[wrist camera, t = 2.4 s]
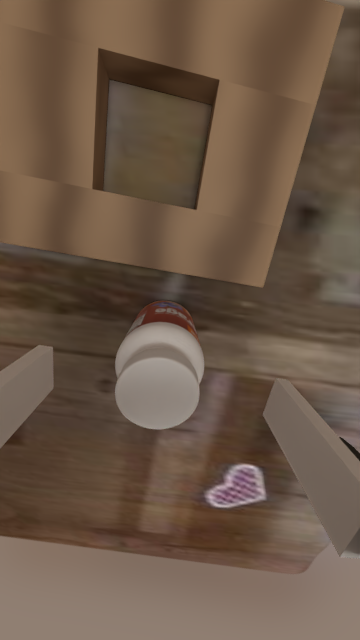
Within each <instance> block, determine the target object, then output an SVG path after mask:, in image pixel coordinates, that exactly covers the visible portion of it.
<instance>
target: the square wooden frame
mask: <svg viewBox="0 0 360 640" xmlns="http://www.w3.org/2000/svg"><path fill="white" fill-rule="evenodd" d="M343 10H344V6H340V5H337V4H334V3H331V2H328V1H325V0H0V242H2V243H7V244H13V245H19V246H25V247H31V248H36V249H42V250H48V251H54V252H60V253H65V254H71V255H77V256H83V257H89V258H94V259H100V260H106V261H112V262H117V263H123V264H129V265H135V266H141V267H146V268H152V269H158V270H164V271H170V272H175V273H181V274H187V275H193V276H199V277H204V278H210V279H216V280H222V281H228V282H233V283H239V284H245V285H251V286H257V287H262V288H263V286H264V282H265V279H266V276H267V272H268V269H269V265H270V262H271V258H272V255H273V251H274V248H275V245H276V241H277V238H278V234H279V231H280V227H281V224H282V220H283V217H284V214H285V210H286V207H287V203H288V200H289V196H290V193H291V190H292V186H293V183H294V179H295V176H296V172H297V169H298V165H299V162H300V159H301V155H302V152H303V148H304V145H305V141H306V138H307V134H308V131H309V128H310V124H311V121H312V117H313V114H314V110H315V107H316V103H317V100H318V97H319V93H320V90H321V86H322V83H323V79H324V76H325V72H326V69H327V66H328V62H329V59H330V55H331V52H332V48H333V45H334V41H335V38H336V35H337V31H338V28H339V24H340V21H341V17H342V14H343ZM109 79H111V80H115V81H119V82H123V83H127V84H131V85H135V86H139V87H143V88H147V89H151V90H155V91H159V92H163V93H167V94H171V95H175V96H179V97H183V98H187V99H191V100H195V101H199V102H203V103H207V104H211V105H212V111H211V117H210V122H209V128H208V134H207V140H206V145H205V151H204V157H203V163H202V168H201V174H200V180H199V186H198V192H197V197H196V203H195V209H189V208H184V207H179V206H174V205H169V204H164V203H159V202H154V201H149V200H144V199H139V198H134V197H129V196H124V195H119V194H114V193H109V192H105V191H103V181H104V163H105V145H106V127H107V109H108V91H109Z"/></svg>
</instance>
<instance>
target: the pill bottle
mask: <svg viewBox="0 0 360 640" xmlns="http://www.w3.org/2000/svg"><path fill="white" fill-rule="evenodd" d="M115 370H116V375H117V379H118V380H117V383H116V387H115V399H116V403H117V405H118V408H119V409H120V411H121V412H122V414H123V415H124V416H125V417H126V418H127V419H128V420H130V421H131V422H133V423H134V424H136V425H139V426H141V427H145V428H148V429H167V428H171V427H174V426H176V425H179V424H181V423H182V422H184V421H185V420H186V419H188V418H189V417H190V416H191V415H192V413H193V412H194V410H195V409H196V407H197V404H198V402H199V395H200V390H199V384H200V382H201V379H202V377H203V373H204V357H203V352H202V349H201V345H200V343H199V339H198V336H197V333H196V329H195V326H194V322H193V319H192V317H191V315H190V314H189V312H188V311H187V310H186V309H185V308H184V307H183V306H181V305H179V304H178V303H175V302H172V301H166V300H161V301H156V302H153V303H150V304H148V305H147V306H145V307H144V308H143V309H142V310H141V311H140V312H139V314H138V315H137V317H136V319H135V321H134V322H133V324H132V326H131V328H130V329H129V331H128V333H127V335H126V336H125V338H124V340H123V341H122V343H121V345H120V347H119V349H118V352H117V355H116V360H115Z"/></svg>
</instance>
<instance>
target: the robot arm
mask: <svg viewBox="0 0 360 640" xmlns="http://www.w3.org/2000/svg"><path fill="white" fill-rule="evenodd" d="M53 388H54V383H53V347H50V346H43V345H38V346H37V347H35V348H34V349H32V350H31V351H29V352H28V353H26V354H25V355H23V356H22V357H21V358H19V359H18V360H16V361H15V362H13V363H12V364H10V365H9V366H7V367H6V368H4V369H3V370H2V371H0V448H1V447H2V446H3V445H4V444H5V443H6V441H7V440H8V439H9V438H10V437H11V436H12V435H13V434H14V432H15V431H16V430H17V429H18V428H19V427H20V426H21V425H22V423H23V422H24V421H25V420H26V419H27V418H28V417H29V415H30V414H31V413H32V412H33V411H34V410H35V409H36V408H37V406H38V405H39V404H40V403H41V402H42V401H43V400H44V399H45V397H46V396H47V395H48V394H49V393H50V392H51V391H52V390H53ZM263 416H264V418H265V420H266V422H267V423H268V425H269V427H270V429H271V431H272V433H273V434H274V436H275V438H276V440H277V442H278V444H279V446H280V447H281V449H282V451H283V453H284V455H285V457H286V458H287V460H288V462H289V464H290V466H291V468H292V470H293V471H294V473H295V475H296V477H297V479H298V481H299V482H300V484H301V486H302V488H303V490H304V492H305V493H306V495H307V497H308V499H309V501H310V503H311V505H312V506H313V508H314V510H315V512H316V514H317V516H318V517H319V519H320V521H321V523H322V525H323V527H324V529H325V530H326V532H327V534H328V536H329V538H330V540H331V541H332V543H333V545H334V547H335V549H336V550H337V552H338V554H339V556H340V557H347V558H360V453H359V452H358V451H357V450H356V449H355V448H354V447H353V446H351V445H350V444H349V443H348V442H346V441H345V440H344V439H343V438H341V437H338V436H337V435H336V434H335V433H334V431H333V430H332V429H331V428H330V427H329V426H328V425H327V424H326V422H325V421H324V420H323V419H322V418H321V417H320V416H319V415H318V413H317V412H316V411H315V410H314V409H313V408H312V407H311V406H310V404H309V403H308V402H307V401H306V400H305V399H304V398H303V396H302V395H301V394H300V393H299V392H298V391H297V390H296V389H295V387H294V386H293V385H292V384H291V383H290V382H289V381H288V380H285V379H278V378H276V379H275V382H274V385H273V388H272V390H271V393H270V396H269V399H268V401H267V404H266V407H265V410H264V413H263Z"/></svg>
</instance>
